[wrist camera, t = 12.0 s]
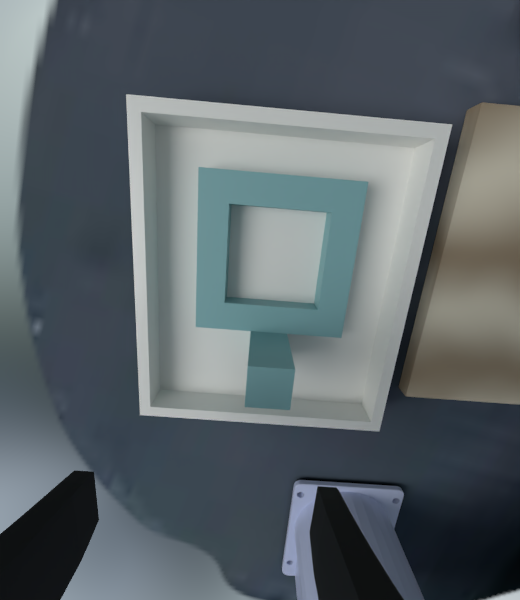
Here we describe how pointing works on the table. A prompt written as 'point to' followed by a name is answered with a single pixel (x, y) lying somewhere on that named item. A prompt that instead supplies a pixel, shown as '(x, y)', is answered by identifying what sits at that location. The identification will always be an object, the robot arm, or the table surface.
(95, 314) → the table surface
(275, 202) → the teal frame with handle
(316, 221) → the tray
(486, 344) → the board
